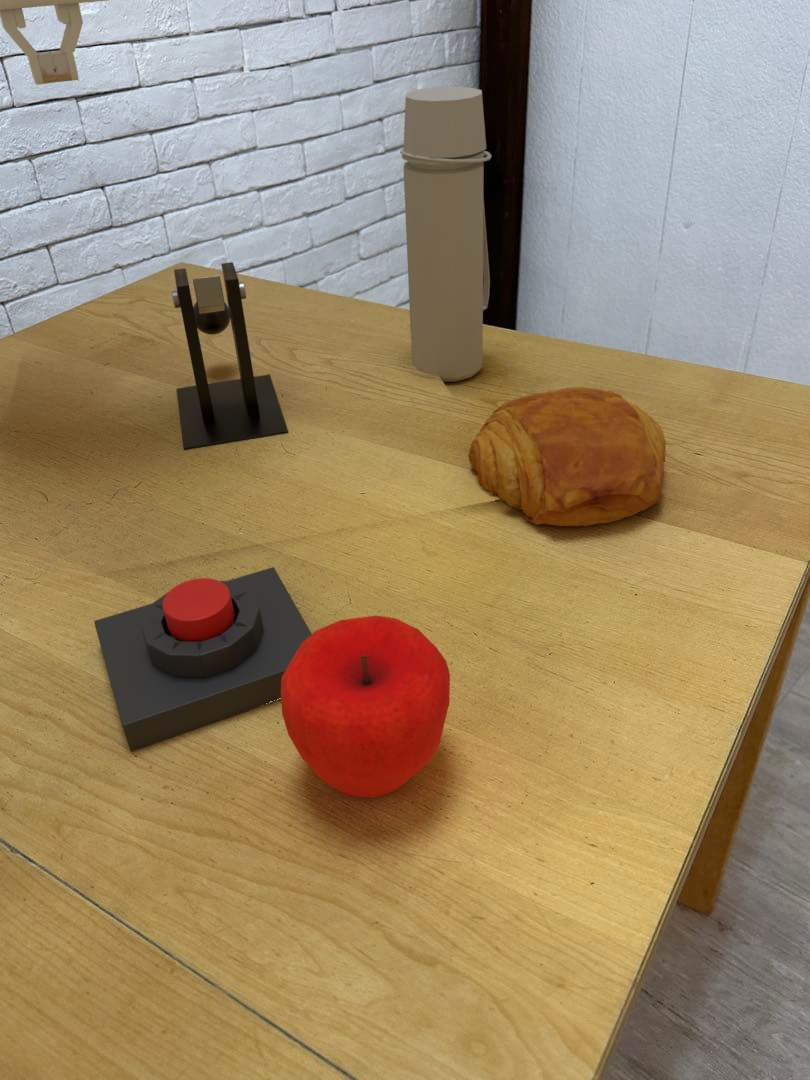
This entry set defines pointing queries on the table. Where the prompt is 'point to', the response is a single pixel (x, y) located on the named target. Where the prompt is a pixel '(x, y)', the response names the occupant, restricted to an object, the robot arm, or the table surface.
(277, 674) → the button box
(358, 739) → the apple
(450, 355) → the water bottle
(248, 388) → the bracket
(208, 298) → the lever
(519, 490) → the croissant
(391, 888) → the table surface
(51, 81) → the robot arm
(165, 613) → the button
